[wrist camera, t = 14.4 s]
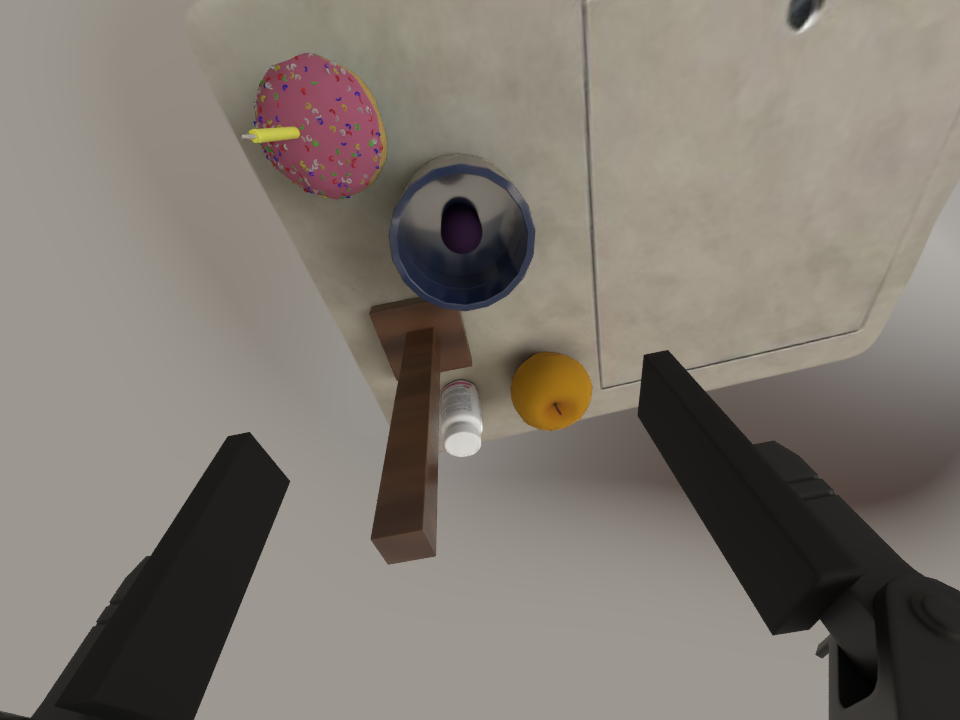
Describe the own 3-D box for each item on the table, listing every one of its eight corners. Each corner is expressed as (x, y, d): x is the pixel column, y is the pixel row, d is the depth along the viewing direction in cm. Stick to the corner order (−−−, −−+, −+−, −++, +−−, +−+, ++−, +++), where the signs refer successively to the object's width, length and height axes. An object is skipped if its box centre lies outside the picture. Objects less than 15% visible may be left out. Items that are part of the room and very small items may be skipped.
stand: (371, 306, 38) (291, 520, 18) (455, 289, 38) (464, 488, 18) (398, 373, 43) (358, 594, 24) (471, 358, 43) (493, 571, 23)
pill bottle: (433, 396, 46) (431, 447, 39) (458, 372, 44) (460, 422, 37) (462, 413, 48) (465, 465, 41) (486, 391, 46) (493, 441, 39)
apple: (559, 398, 48) (580, 452, 40) (494, 387, 46) (504, 441, 38) (589, 342, 43) (619, 391, 35) (518, 327, 41) (534, 375, 34)
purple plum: (434, 213, 33) (432, 226, 29) (470, 196, 32) (474, 207, 28) (451, 249, 35) (451, 266, 31) (485, 233, 34) (490, 249, 30)
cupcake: (294, 183, 31) (223, 219, 21) (268, 54, 26) (162, 23, 16) (396, 190, 32) (374, 228, 22) (390, 67, 27) (358, 45, 17)
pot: (381, 169, 31) (366, 184, 25) (512, 140, 30) (527, 148, 25) (418, 288, 37) (413, 322, 32) (526, 266, 37) (541, 296, 31)
